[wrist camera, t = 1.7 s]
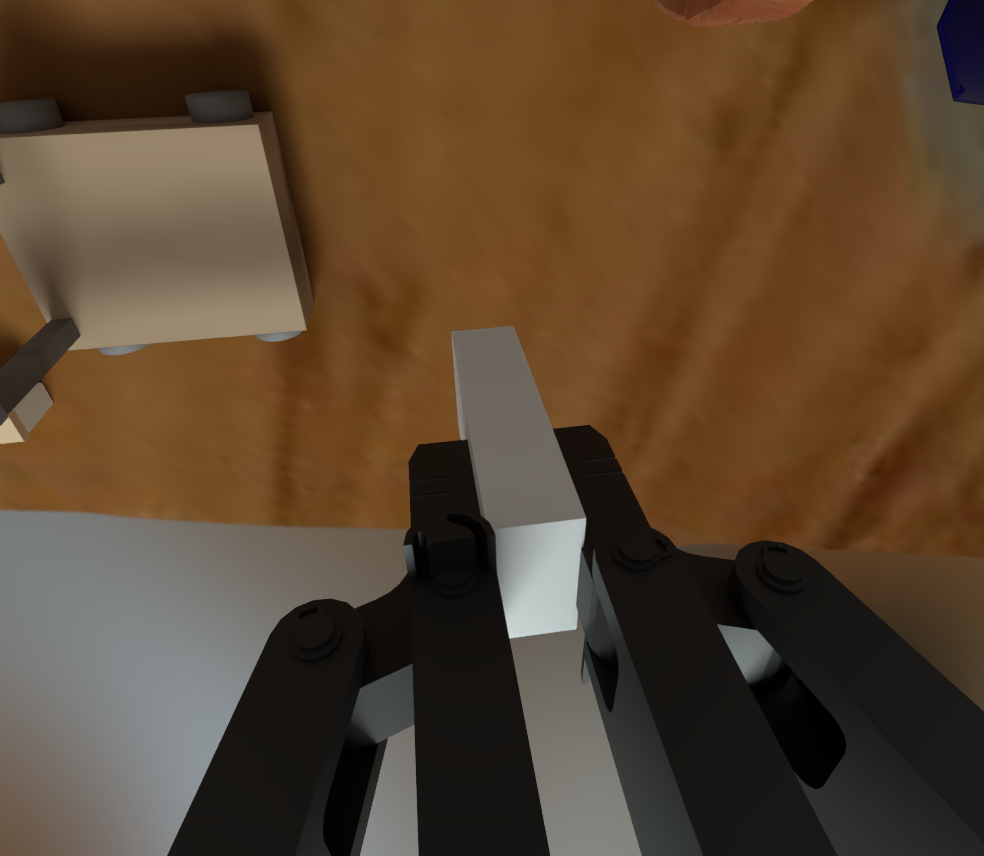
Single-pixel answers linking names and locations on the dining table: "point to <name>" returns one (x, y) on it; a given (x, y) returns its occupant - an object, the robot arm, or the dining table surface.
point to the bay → (25, 415)
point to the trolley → (148, 230)
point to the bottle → (964, 49)
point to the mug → (729, 10)
